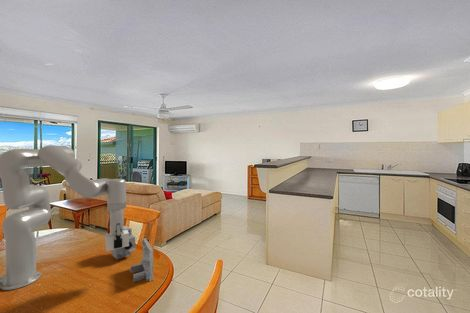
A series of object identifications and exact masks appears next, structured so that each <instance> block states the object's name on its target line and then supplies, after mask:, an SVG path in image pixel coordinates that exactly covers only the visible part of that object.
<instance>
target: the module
mask: <svg viewBox="0 0 470 313" xmlns="http://www.w3.org/2000/svg"><path fill="white" fill-rule="evenodd" d="M121 233H122V247H121V248H123V247H127V246H129V232H128V230H124V231H123V232H122V231H121ZM116 235H117V234H116ZM114 240H115V238H114V233H113V234H111V232H109V233H105V251H106V252H111V250H114ZM116 249H119V248H116Z"/></svg>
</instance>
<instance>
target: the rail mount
mask: <svg viewBox="0 0 470 313" xmlns="http://www.w3.org/2000/svg"><path fill="white" fill-rule="evenodd" d="M129 271H130V274H133V276H132V282H133V283H135V282H139V281H143V280H145V281H146V282H147V281H148V282H152V281H154V249H153V248H152V246H151V244H150V242H149V241H148V239H147V237H146V238H142V259H140V263H138V264H134V265H130V270H129Z"/></svg>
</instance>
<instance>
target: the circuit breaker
mask: <svg viewBox="0 0 470 313" xmlns="http://www.w3.org/2000/svg"><path fill="white" fill-rule="evenodd" d="M124 230H128V232H129V246H127V247H123V248H119V249H114V250H110V252H111V256H112V257H113V258H115V259H116V260H120V259H122V258H125V256H126V257H129V256H131V255H132V252H134V251H136V237H135V236H134V235H132V232H133V231H132V230H133V229H132V228H131V227H129V226H127V225H124V226H123V231H124ZM124 255H125V256H124Z"/></svg>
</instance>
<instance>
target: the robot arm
mask: <svg viewBox="0 0 470 313" xmlns="http://www.w3.org/2000/svg"><path fill="white" fill-rule="evenodd" d="M75 157H76V154H75V151H74V149H72V148H71V147H69V146H68V145H67V146H66V145H45V146H43V147H41V148H39V149H36V148H35V149H34V148H32V149H31V148H14V149H10V150H6V151H4V152H3V153H1V155H0V180H1V188H2V189H1V190H2V195H3V196H2V197H3V202H4V205H5V208H7V209H9V210H20V209H24V208H28V209H25V210H20V211H18V212H15V213H12V214H10V215H8V216H7V217H5V218H4V219H3V221H2V223H1V229H2V234H3V236H4V243H5V247H4V248H5V274H3V275H1V276H0V289H1V290H3V291H12V290H16V289H21V288H23V287H25V286H29V285H31V284H33V283H34V282H36V281H37V280H39V279H40V278H41V275H42V273H41V271H38V270H37V240H36V239H37V238H36V236H35V234H33V232H32V230H34V229H37V228H40V227H41V226H42V227H43V226H44V225H46V224H48V223H49V222H50V220H51V217H52V209H51V208H52V207H51V203H50V202H51V201H50V195H49V191H48V190H47V189H46V187H45V186H42V185H40V184H33V185H31V183H30V177H29V174H28V173H27V172H26V171H25V168H26V169H27V168H28V169H29V168H41V167H49V168H51V169H53V170H54V171H55V172H58V173H59V174H60V175H62V176H63V177H64V180H65V183H66V184H67V186H68V187H69V189H71V190H72V191H74V192H75V193H76V194H78V195H80V196H81V197H83V198H86V199H87V198H88V199H94V198H96V197H99V196H103V195H106V200H107V202H106V203H107V204H106V205H107V209H106V210H107V212H109V231H110V232H109V233H111V234H113V233H114V238H115V240H114V249H116V248H121V247H122V233H121V231H122V232H123V226H125V225H124V222H125V219H124V210H126V209H127V184H126V183H127V182H126V180H125V179H124V178H113V179H112V178H107V177H105V178H97V179H89V178H88V177H86V176H84V174H82V173H81V172H80V171H81V170H82V168H83V163H82V162H81V161H79V160H78V159H77V158H75ZM116 234H117V235H116Z"/></svg>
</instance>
